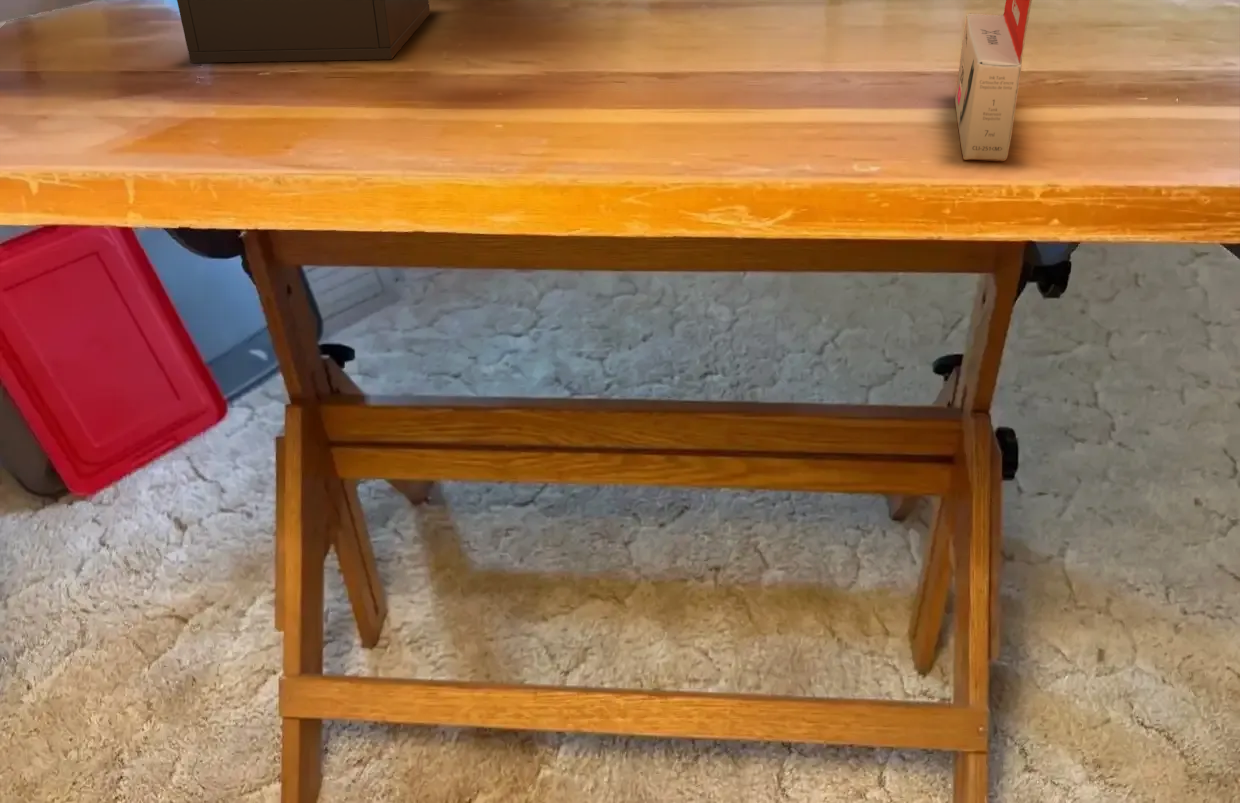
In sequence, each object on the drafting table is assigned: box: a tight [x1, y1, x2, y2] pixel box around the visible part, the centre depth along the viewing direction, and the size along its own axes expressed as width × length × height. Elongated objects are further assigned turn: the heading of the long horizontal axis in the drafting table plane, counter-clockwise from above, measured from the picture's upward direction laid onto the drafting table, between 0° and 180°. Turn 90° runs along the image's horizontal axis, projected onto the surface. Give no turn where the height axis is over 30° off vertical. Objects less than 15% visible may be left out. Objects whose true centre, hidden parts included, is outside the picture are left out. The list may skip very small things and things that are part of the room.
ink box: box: [954, 0, 1033, 162], centre depth 61 cm, size 2×11×10 cm, turn 168°
